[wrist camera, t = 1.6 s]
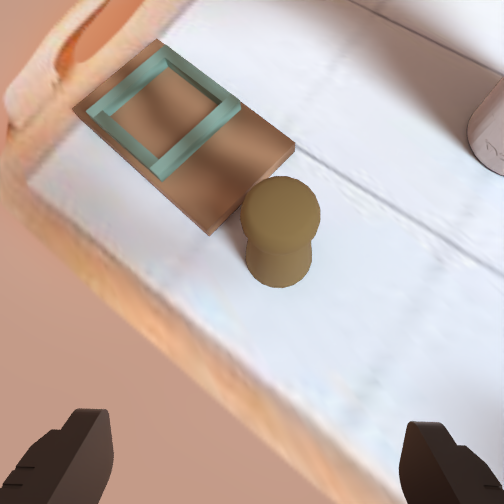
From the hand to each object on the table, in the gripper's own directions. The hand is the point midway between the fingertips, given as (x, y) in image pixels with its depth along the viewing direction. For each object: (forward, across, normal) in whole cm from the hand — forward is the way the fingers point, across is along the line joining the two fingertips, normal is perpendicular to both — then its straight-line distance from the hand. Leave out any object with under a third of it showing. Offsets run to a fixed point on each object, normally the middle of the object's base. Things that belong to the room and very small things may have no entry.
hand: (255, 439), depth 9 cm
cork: (+23, -2, +2) cm, 23 cm away
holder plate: (+30, +8, -8) cm, 32 cm away
